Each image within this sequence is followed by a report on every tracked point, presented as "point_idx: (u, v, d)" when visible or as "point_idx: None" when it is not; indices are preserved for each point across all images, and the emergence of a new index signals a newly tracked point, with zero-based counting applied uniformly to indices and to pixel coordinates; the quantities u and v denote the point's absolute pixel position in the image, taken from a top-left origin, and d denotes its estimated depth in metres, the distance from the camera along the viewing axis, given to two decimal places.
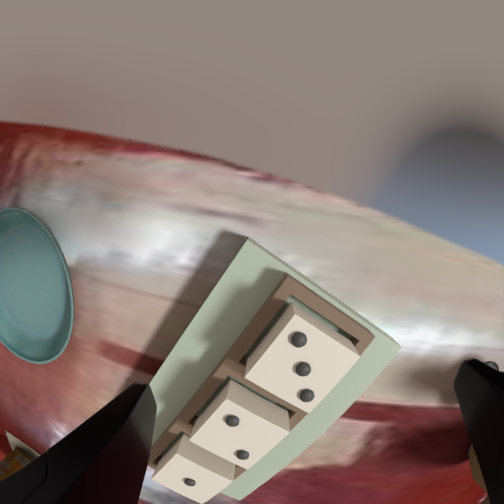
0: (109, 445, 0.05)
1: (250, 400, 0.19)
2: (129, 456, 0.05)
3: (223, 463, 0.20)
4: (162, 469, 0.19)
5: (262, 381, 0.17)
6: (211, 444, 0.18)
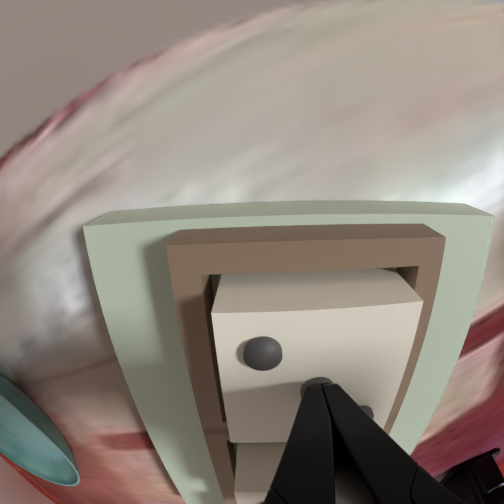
0: None
1: None
2: None
3: None
4: None
5: (262, 436, 0.08)
6: None
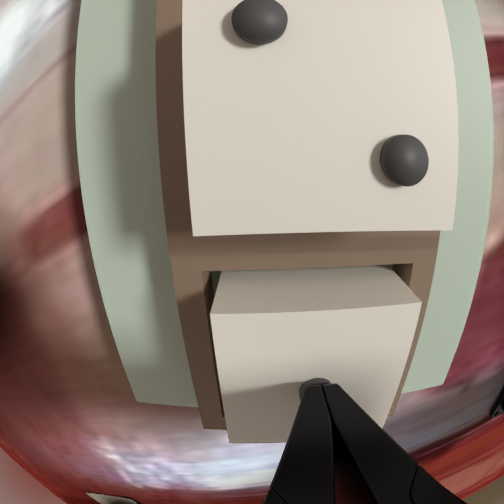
0: None
1: None
2: None
3: (363, 278, 0.08)
4: (225, 400, 0.08)
5: None
6: (275, 190, 0.05)
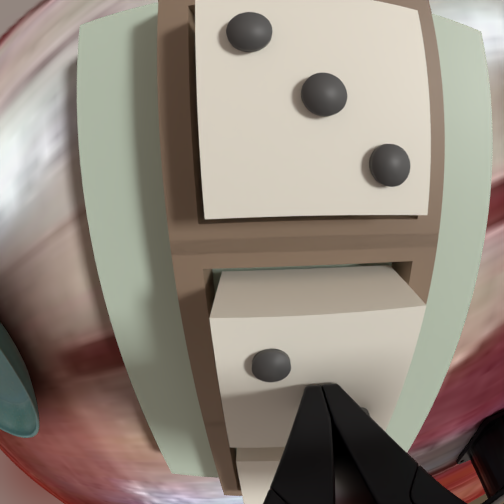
0: None
1: (286, 288, 0.08)
2: None
3: None
4: (243, 489, 0.10)
5: (252, 198, 0.06)
6: (276, 434, 0.08)
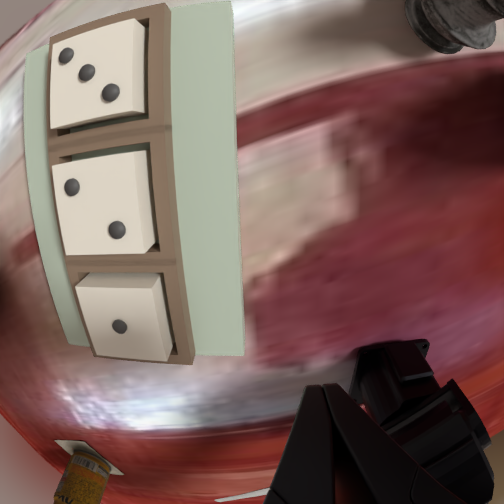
0: None
1: None
2: None
3: (141, 276, 0.17)
4: (88, 327, 0.17)
5: (64, 117, 0.12)
6: (83, 241, 0.14)
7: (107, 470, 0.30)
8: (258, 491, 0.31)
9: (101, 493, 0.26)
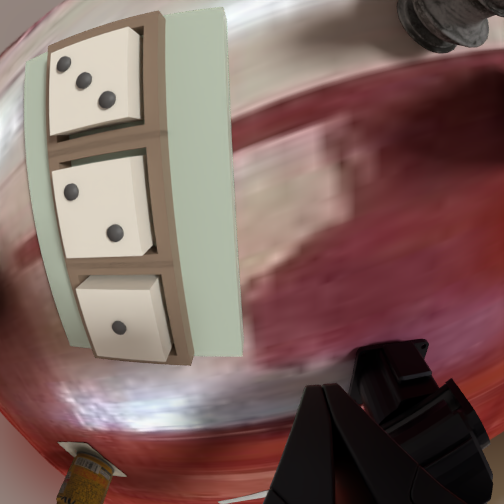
0: None
1: None
2: None
3: (140, 278, 0.17)
4: (88, 328, 0.17)
5: (63, 124, 0.13)
6: (83, 245, 0.15)
7: (110, 472, 0.30)
8: (261, 493, 0.31)
9: (104, 494, 0.27)
